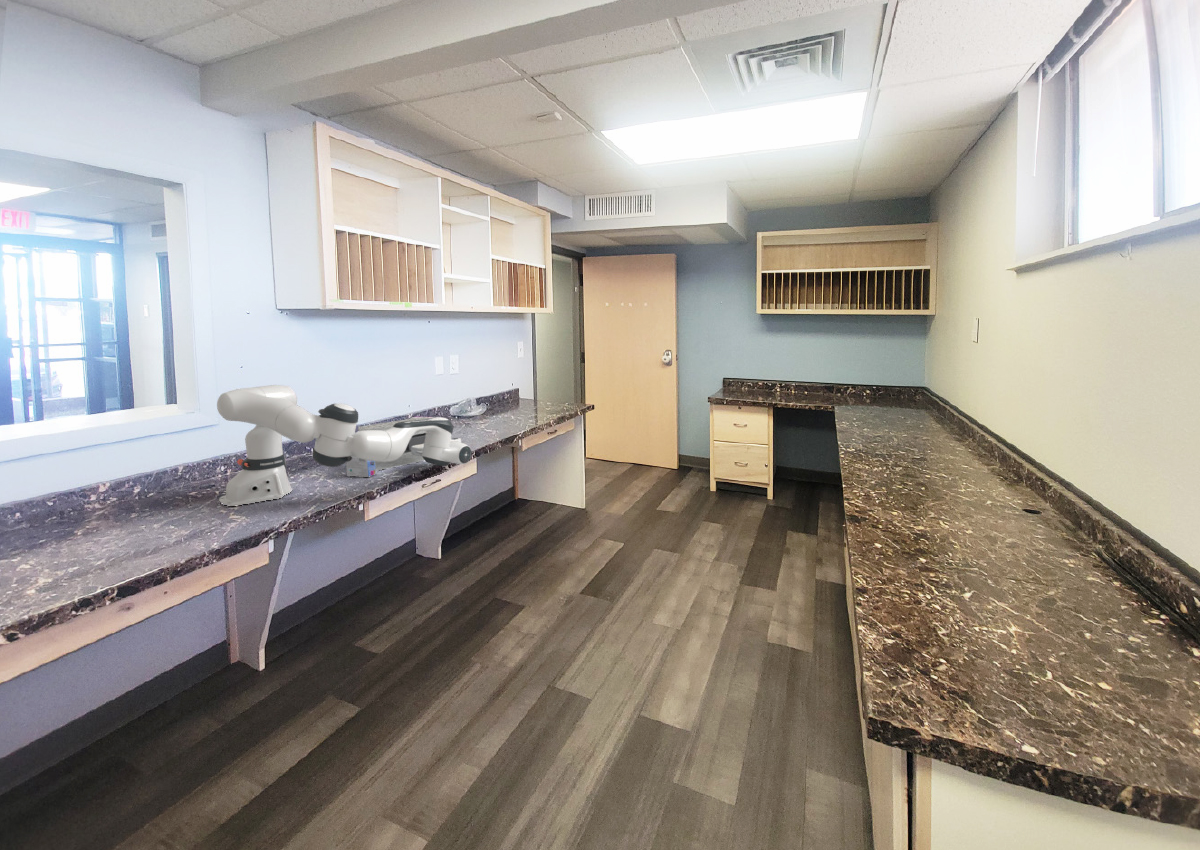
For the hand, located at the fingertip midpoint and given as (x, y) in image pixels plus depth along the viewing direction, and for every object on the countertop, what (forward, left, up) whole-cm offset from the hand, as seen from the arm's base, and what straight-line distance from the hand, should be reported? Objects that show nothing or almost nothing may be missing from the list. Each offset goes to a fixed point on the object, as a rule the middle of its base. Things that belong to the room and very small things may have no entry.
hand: (425, 444), depth 243 cm
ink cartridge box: (-27, +4, -9) cm, 29 cm away
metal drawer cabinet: (-7, +10, -9) cm, 15 cm away
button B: (-1, +6, -2) cm, 7 cm away
